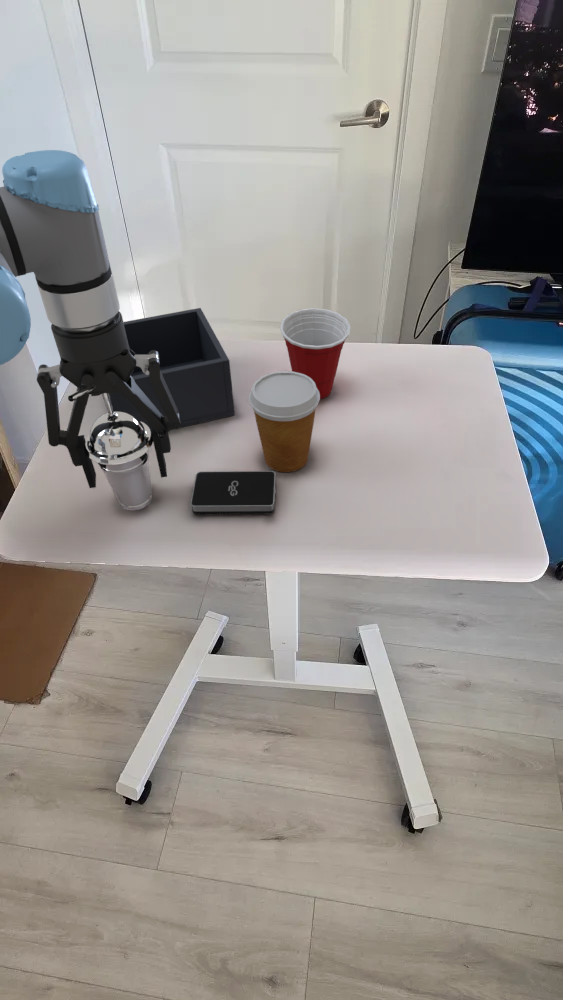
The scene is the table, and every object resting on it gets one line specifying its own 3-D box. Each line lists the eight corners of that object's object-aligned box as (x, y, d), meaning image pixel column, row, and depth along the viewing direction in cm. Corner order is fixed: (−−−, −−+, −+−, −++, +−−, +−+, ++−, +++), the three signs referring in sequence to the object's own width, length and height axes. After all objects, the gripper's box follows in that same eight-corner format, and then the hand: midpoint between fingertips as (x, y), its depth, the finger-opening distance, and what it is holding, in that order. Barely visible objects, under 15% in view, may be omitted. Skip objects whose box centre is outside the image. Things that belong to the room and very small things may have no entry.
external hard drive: (198, 482, 88) (196, 471, 86) (277, 481, 87) (276, 470, 86) (191, 517, 82) (189, 506, 81) (275, 516, 82) (274, 505, 81)
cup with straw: (178, 501, 85) (149, 374, 71) (118, 532, 81) (75, 404, 67) (148, 470, 90) (116, 345, 76) (90, 498, 86) (45, 372, 72)
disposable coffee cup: (331, 450, 92) (333, 380, 83) (297, 488, 86) (295, 417, 78) (276, 431, 96) (273, 362, 87) (240, 466, 90) (233, 396, 82)
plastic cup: (299, 417, 98) (298, 349, 90) (271, 383, 105) (268, 317, 97) (359, 399, 101) (364, 331, 93) (329, 367, 108) (330, 302, 100)
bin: (121, 441, 95) (106, 384, 88) (105, 380, 108) (91, 327, 101) (235, 415, 99) (229, 359, 92) (207, 360, 111) (200, 307, 105)
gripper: (182, 289, 71) (205, 446, 86) (-13, 312, 68) (47, 469, 84) (187, 320, 65) (211, 482, 81) (-24, 346, 63) (43, 507, 78)
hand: (128, 475), depth 82 cm, fingers closed on cup with straw, 8 cm apart
